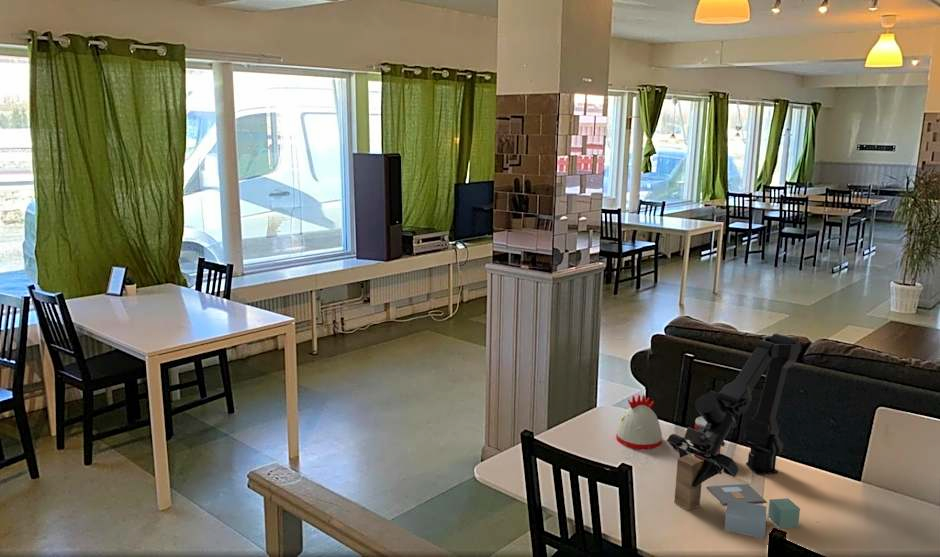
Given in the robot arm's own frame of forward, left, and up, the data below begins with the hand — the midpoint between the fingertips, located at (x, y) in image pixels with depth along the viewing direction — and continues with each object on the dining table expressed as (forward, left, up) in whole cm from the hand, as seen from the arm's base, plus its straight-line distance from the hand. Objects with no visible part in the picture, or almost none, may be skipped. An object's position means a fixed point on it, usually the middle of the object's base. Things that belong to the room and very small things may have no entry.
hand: (685, 482), depth 180 cm
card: (-16, -4, -7) cm, 18 cm away
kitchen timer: (-3, -40, -7) cm, 40 cm away
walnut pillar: (-1, -1, -7) cm, 7 cm away
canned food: (-19, -27, -7) cm, 34 cm away
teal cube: (-21, +10, -7) cm, 25 cm away
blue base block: (-11, +10, -7) cm, 17 cm away
